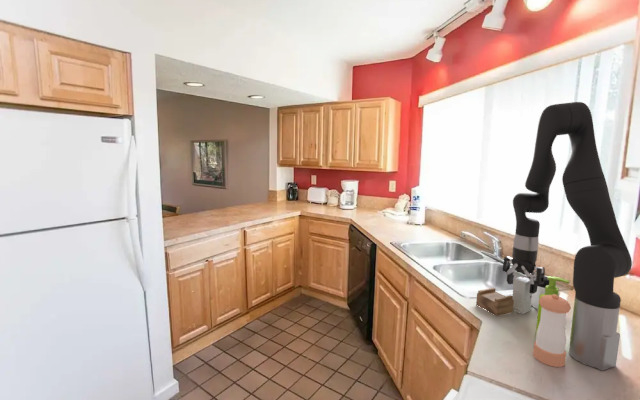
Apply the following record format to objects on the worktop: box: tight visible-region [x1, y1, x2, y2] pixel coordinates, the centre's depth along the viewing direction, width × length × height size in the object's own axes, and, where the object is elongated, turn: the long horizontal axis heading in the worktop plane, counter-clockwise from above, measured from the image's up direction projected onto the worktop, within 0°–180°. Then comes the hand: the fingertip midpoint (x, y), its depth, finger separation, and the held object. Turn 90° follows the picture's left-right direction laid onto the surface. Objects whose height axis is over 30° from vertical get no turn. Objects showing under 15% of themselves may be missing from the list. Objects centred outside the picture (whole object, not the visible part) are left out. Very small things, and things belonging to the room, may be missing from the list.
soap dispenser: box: [535, 275, 570, 334], centre depth 95 cm, size 6×7×20 cm
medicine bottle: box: [531, 275, 560, 311], centre depth 116 cm, size 7×7×12 cm
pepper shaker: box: [532, 294, 572, 368], centre depth 85 cm, size 7×7×19 cm
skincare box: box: [512, 276, 532, 315], centre depth 113 cm, size 6×4×12 cm
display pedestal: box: [475, 287, 514, 317], centre depth 115 cm, size 9×8×6 cm
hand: (520, 288), depth 114 cm, fingers open, 8 cm apart
